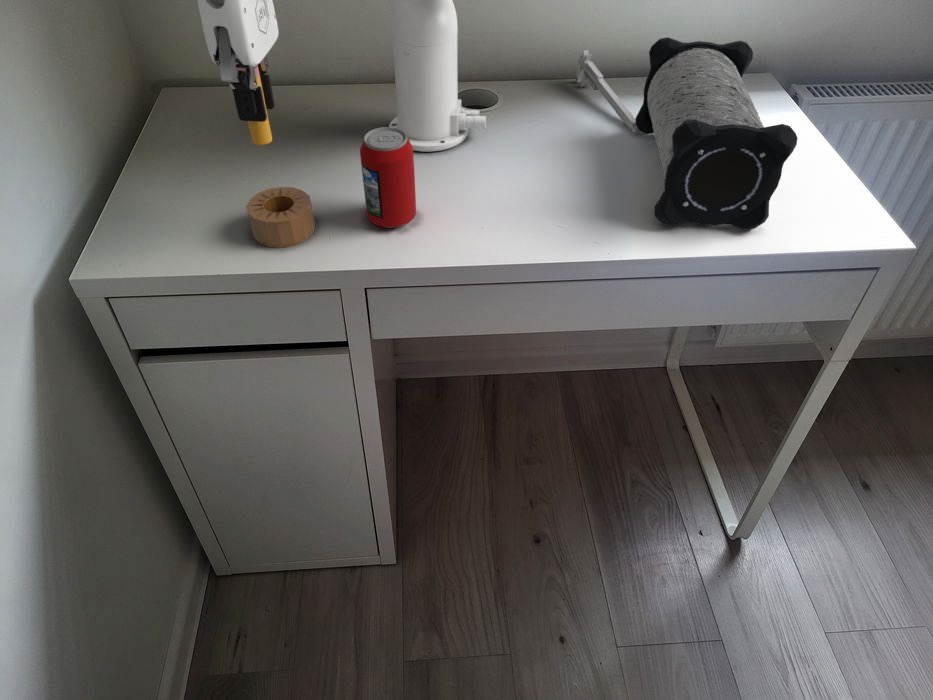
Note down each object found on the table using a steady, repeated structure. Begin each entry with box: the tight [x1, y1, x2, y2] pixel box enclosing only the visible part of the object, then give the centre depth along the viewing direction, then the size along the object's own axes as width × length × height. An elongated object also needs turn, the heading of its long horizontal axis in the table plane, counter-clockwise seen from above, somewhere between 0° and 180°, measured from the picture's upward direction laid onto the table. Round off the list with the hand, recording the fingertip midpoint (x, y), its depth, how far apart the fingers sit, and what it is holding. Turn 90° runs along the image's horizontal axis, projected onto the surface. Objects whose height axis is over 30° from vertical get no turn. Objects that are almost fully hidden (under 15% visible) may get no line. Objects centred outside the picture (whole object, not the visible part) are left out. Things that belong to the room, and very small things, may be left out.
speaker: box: [635, 37, 798, 231], centre depth 99 cm, size 15×29×15 cm, turn 176°
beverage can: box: [359, 126, 417, 229], centre depth 93 cm, size 7×7×12 cm
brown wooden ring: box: [246, 186, 316, 249], centre depth 94 cm, size 8×8×4 cm
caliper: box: [575, 49, 641, 134], centre depth 119 cm, size 20×1×6 cm, turn 22°
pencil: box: [236, 65, 273, 146], centre depth 83 cm, size 2×2×9 cm
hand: (257, 112), depth 84 cm, fingers closed on pencil, 2 cm apart
